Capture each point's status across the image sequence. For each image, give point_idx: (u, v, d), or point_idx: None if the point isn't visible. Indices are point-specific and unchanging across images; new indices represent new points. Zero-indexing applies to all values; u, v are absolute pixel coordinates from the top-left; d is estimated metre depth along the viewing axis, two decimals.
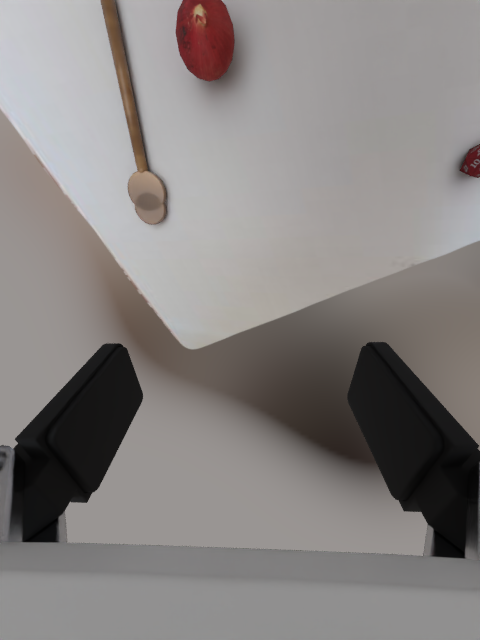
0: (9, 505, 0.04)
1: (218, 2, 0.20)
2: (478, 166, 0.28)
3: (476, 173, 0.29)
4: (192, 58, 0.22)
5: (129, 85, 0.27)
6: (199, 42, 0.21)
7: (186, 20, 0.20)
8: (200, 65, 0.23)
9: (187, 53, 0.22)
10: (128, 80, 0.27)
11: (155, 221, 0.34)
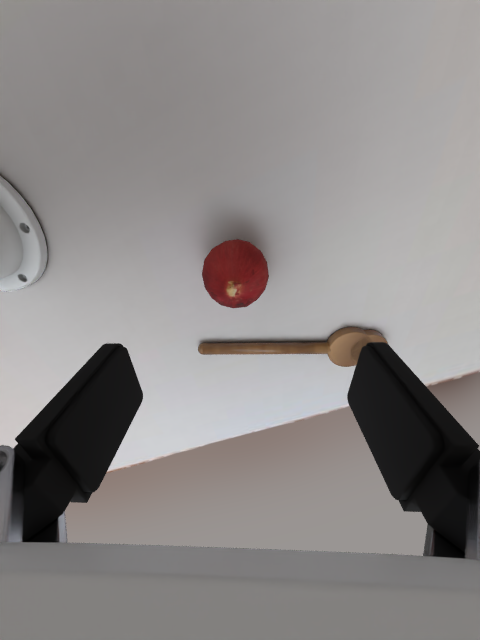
0: (9, 505, 0.04)
1: (215, 262, 0.17)
2: None
3: None
4: (257, 295, 0.19)
5: (258, 345, 0.27)
6: (250, 290, 0.17)
7: (234, 302, 0.18)
8: (263, 286, 0.19)
9: (253, 300, 0.19)
10: (254, 345, 0.27)
11: None
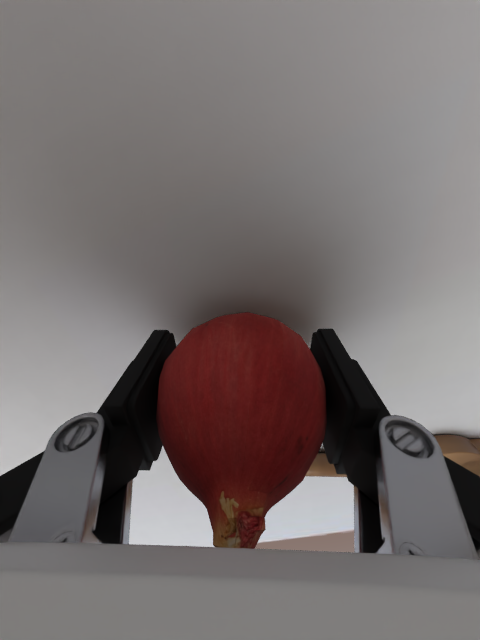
0: (93, 474, 0.05)
1: (181, 408, 0.06)
2: None
3: None
4: None
5: None
6: (290, 490, 0.06)
7: None
8: None
9: None
10: None
11: None
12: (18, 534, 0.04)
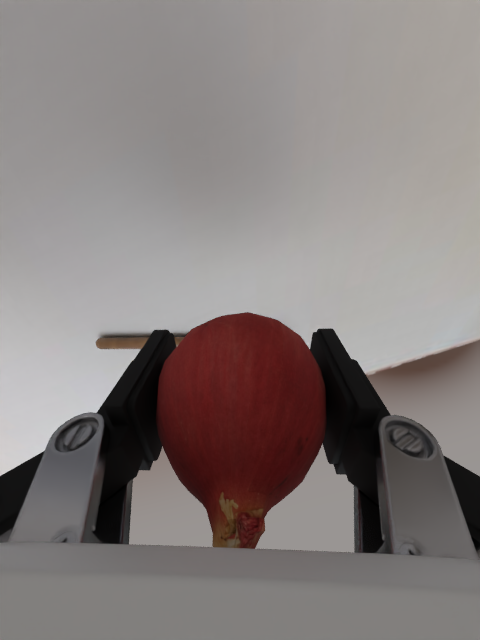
0: (93, 474, 0.05)
1: (181, 409, 0.06)
2: None
3: None
4: None
5: None
6: (290, 491, 0.06)
7: None
8: None
9: None
10: None
11: None
12: (18, 534, 0.04)
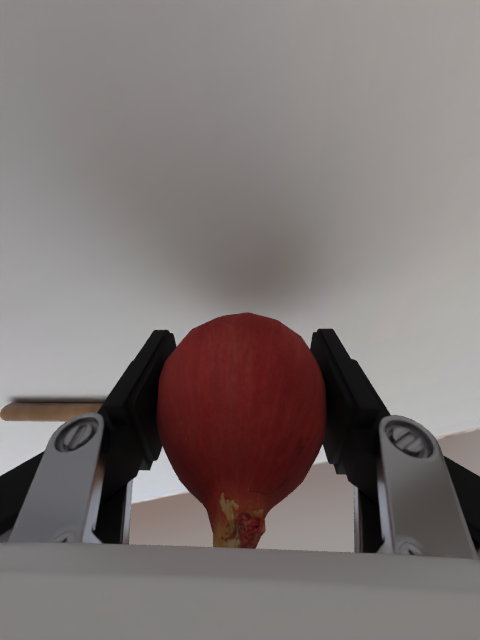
0: (94, 474, 0.05)
1: (181, 409, 0.06)
2: None
3: None
4: None
5: (85, 410, 0.18)
6: (290, 492, 0.06)
7: None
8: None
9: None
10: (80, 410, 0.18)
11: None
12: (18, 534, 0.04)
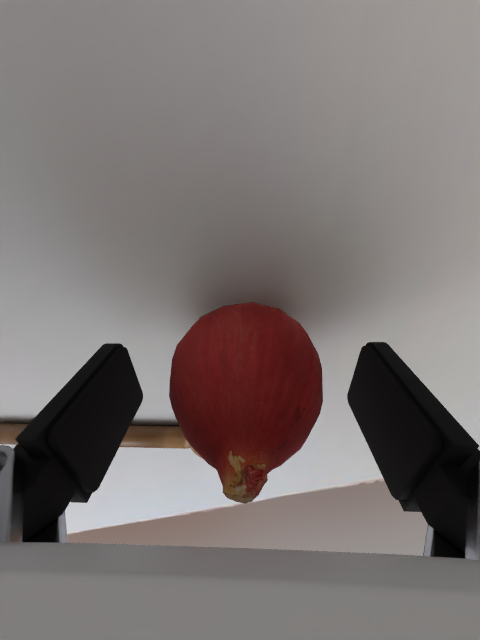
0: (9, 505, 0.04)
1: (194, 382, 0.07)
2: None
3: None
4: None
5: None
6: (289, 455, 0.07)
7: None
8: None
9: None
10: None
11: None
12: None
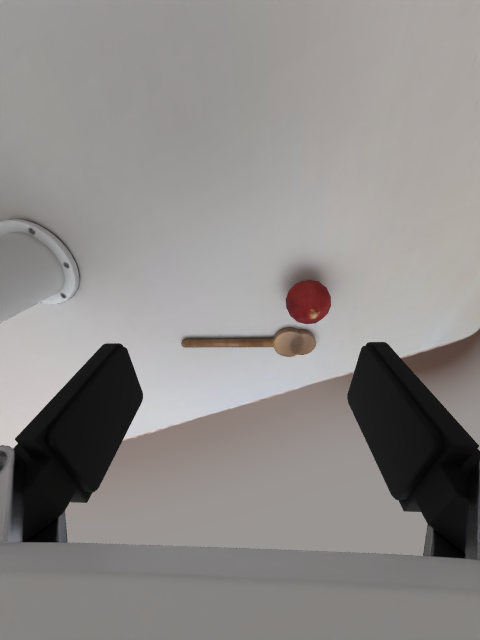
0: (9, 505, 0.04)
1: (300, 297, 0.28)
2: None
3: None
4: None
5: (223, 341, 0.38)
6: (323, 314, 0.28)
7: (311, 321, 0.28)
8: (328, 310, 0.29)
9: None
10: (220, 341, 0.38)
11: (313, 341, 0.37)
12: None
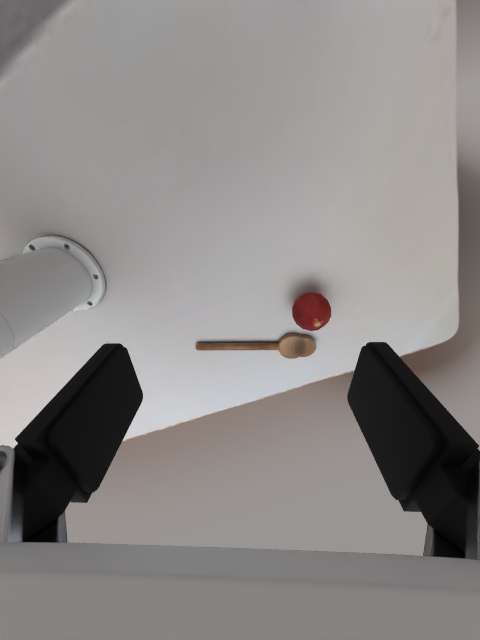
0: (9, 505, 0.04)
1: (305, 308, 0.33)
2: None
3: None
4: (325, 324, 0.34)
5: (233, 344, 0.42)
6: (324, 322, 0.33)
7: (314, 328, 0.33)
8: None
9: (322, 326, 0.34)
10: (231, 344, 0.42)
11: (314, 345, 0.42)
12: None
